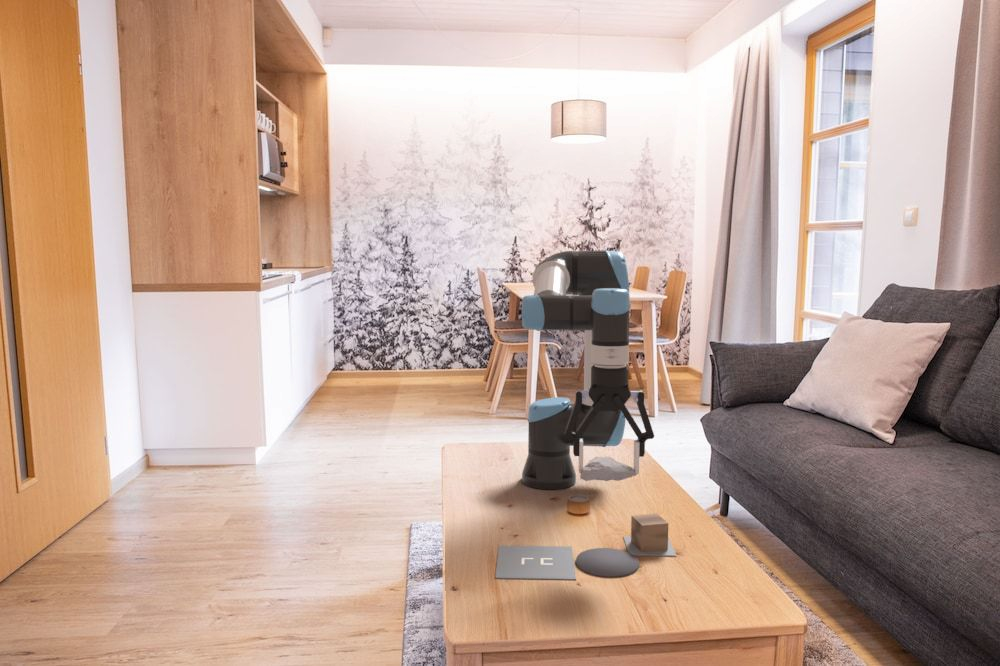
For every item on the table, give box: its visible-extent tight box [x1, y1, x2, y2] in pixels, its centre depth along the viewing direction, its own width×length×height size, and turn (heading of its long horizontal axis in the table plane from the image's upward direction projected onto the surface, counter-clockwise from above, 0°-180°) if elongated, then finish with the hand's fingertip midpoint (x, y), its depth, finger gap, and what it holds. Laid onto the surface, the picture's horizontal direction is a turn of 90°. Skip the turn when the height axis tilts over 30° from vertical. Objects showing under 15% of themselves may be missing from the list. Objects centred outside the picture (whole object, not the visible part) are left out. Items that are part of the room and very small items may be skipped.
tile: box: [623, 536, 677, 557], centre depth 162 cm, size 10×10×1 cm
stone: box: [580, 456, 638, 482], centre depth 151 cm, size 10×12×4 cm
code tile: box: [494, 544, 577, 581], centre depth 154 cm, size 16×16×1 cm
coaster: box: [575, 547, 640, 578], centre depth 154 cm, size 13×13×1 cm
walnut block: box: [630, 513, 669, 552], centre depth 162 cm, size 6×6×6 cm
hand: (608, 471), depth 151 cm, fingers closed on stone, 11 cm apart
